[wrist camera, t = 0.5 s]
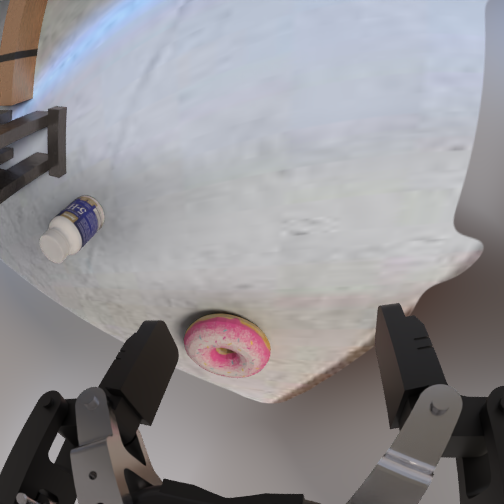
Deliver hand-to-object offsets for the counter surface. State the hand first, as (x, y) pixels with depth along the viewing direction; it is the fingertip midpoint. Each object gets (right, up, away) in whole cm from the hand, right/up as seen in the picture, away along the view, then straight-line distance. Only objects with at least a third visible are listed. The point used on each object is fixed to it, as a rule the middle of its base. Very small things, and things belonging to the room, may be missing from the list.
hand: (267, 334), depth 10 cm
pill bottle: (-22, +8, +24) cm, 34 cm away
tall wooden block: (-29, +31, +9) cm, 43 cm away
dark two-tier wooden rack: (-32, +19, +18) cm, 41 cm away
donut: (-4, -10, +35) cm, 36 cm away
